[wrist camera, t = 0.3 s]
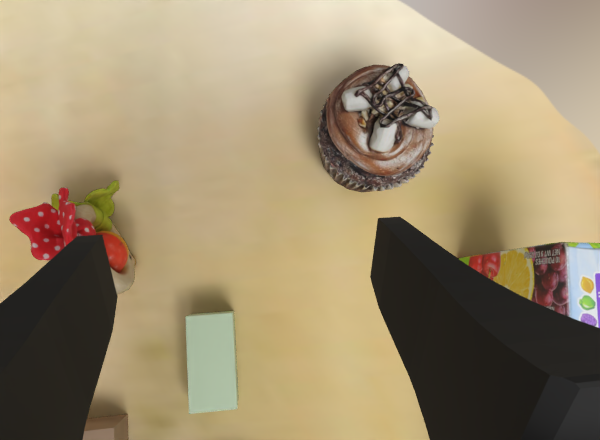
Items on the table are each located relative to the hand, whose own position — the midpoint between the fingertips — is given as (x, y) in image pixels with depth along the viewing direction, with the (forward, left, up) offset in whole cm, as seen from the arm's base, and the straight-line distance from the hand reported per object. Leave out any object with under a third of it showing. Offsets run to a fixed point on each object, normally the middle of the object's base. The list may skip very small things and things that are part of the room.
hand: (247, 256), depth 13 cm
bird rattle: (+4, +11, -28) cm, 31 cm away
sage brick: (-6, +3, -28) cm, 29 cm away
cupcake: (+11, -11, -28) cm, 32 cm away
